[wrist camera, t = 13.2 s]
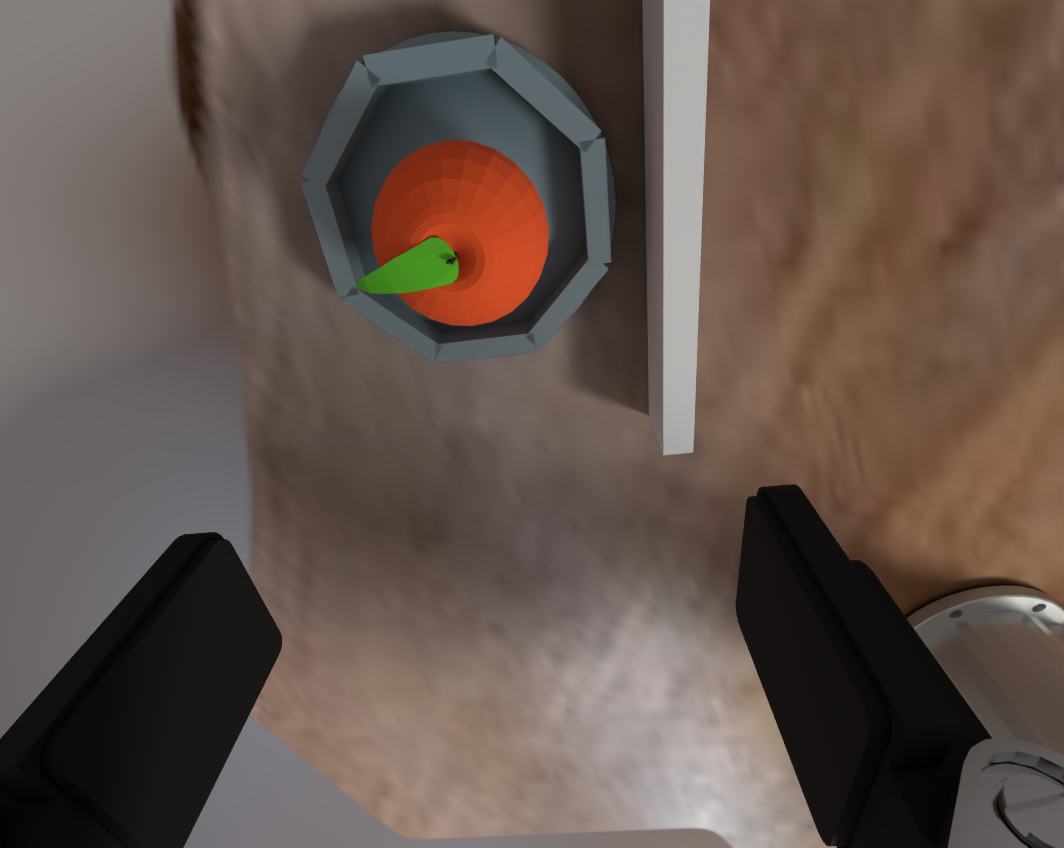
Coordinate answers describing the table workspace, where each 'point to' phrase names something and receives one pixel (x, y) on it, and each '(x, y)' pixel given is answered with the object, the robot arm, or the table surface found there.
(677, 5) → the low wall
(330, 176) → the grey shallow dish
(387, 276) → the clementine
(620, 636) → the table surface
